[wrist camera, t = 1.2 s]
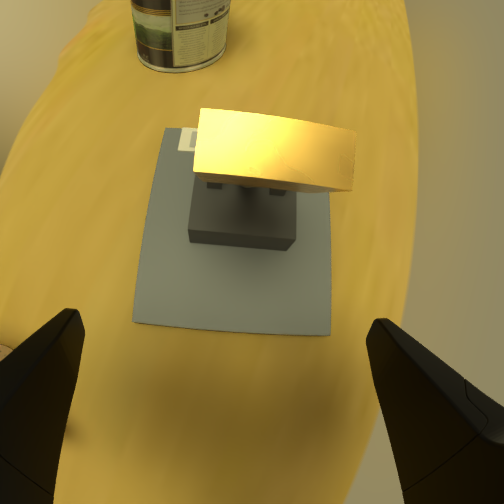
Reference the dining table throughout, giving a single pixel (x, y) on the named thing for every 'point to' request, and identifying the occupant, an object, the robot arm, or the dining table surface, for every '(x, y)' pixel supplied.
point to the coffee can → (180, 33)
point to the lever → (273, 152)
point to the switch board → (231, 253)
